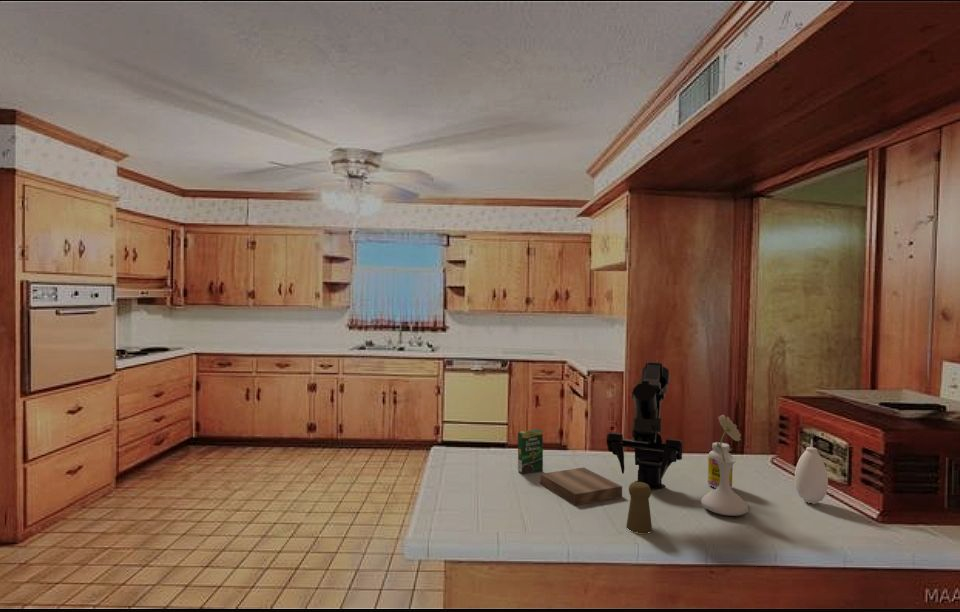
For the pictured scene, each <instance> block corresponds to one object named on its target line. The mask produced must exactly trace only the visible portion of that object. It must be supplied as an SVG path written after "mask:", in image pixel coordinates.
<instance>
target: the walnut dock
mask: <svg viewBox="0 0 960 612" xmlns="http://www.w3.org/2000/svg"><path fill="white" fill-rule="evenodd" d="M539 484H540V485H541V486H542V487H545V488H546V489H548V490H550V491H551V492H553V493H555V494H556V495H558V496H559V497H561V498H562V499H564V500H566V501H567V502H569V503H571V504H572V505H574V506H580V505H583V504H590V503H595V502H601V500H602V501H606V500H605V499H607V500H611V499H612V498H613V499H617V497H618V498H622V497H623V485H621V484H618V483H616V482H614V481H613V480H612V479H611V480H610V479H608V478H606V477H604V476H602V475H600V474H598V473H596V472H594V471H592V470H590V469H588V468H586V467H578V468H571V469H565V470H558V471H557V470H556V471H550V472H543V473H540V475H539ZM613 499H612V500H613Z"/></svg>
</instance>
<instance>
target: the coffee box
mask: <svg viewBox="0 0 960 612" xmlns="http://www.w3.org/2000/svg"><path fill="white" fill-rule="evenodd" d="M543 435H544V432H543V430H540V429H533V430H525V431H524V430H523V431H517V471H519V472H518V473H520V474H521V473H522V474H529V473H537V472H543V471H544V458H543V457H544V452H543V451H544V446H543V445H544V443H543V442H544V441H543V439H544V438H543Z"/></svg>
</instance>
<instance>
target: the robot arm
mask: <svg viewBox="0 0 960 612" xmlns="http://www.w3.org/2000/svg"><path fill="white" fill-rule="evenodd" d="M641 368H642V370H641V380H639V381H638V382H637V384H636V386H634V387H633V389H632V391H631V392H632V393H631V396H632V399H633V404H634V408H635V417H634V418H633V426H632V433H631V436H632V439H628V438H624V434H623V433H620V432H619V433H618V432H611V431H610V432H609V433H607V435H606V445H607V451H608V452H610V453H612V455H613V456H614V455H615V456H616V458H617V459H618V462H619V465H620V470H621V474H623V475H624V474H625V452H624V448H631V449H634V463H635V464H634V465H635V466H638V470H637V480H635V481H634V482H643V483H646V484H648V485H649V486H650V488H651V491H652V490H656V489H657V490H658V489H662V487H663V488H666V484H663V483H662V479H663V477H664V476H665V473H666V471H667V470H668V469H669V467H670V466H671V464H672V463H676V462H677V461H681V460H682V459H683V442H682V440H681V439H677V438H676V439H675V438H666V439H665V443H663V439H662V436H661V434H660V432H662V418H661V406H662V404H661V403H662V402H664V401H663V400H664V399H665V398H666V393H667V391H668V386H670V380H671V379H670V377H671V376H670V370H669V369H668V368H666V367H665V366H664V365H663V363H661V362H657V361H656V362H655V361H654V362H652V361H648V362H645V366H644V367H641Z"/></svg>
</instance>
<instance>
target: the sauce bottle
mask: <svg viewBox="0 0 960 612" xmlns="http://www.w3.org/2000/svg"><path fill="white" fill-rule="evenodd" d="M813 443H814V441H813V438H811V439H810V446H807V447H806V448H805V451H804V452H803V453H802V454H801V455H800V457H799V460H798V461H797V464H796V466H795V470H794V472H795V473H794V485H795V489H796V491H797V494H798V495H799V496H798V497H800V498H801V499H803V501H804V502H806V503H807V502H808V503H807V504H809V503H814V504H813V505H816V504H819V502H822V501H823V500H824V498H825V496H826V495H827V492H828V488H829V476H828V472H827V469H826V465H825V462H824V460H823V458H822V457H821V455H820V454H819V452H818V449H817V448H816V447H813V446H814V444H813Z"/></svg>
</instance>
